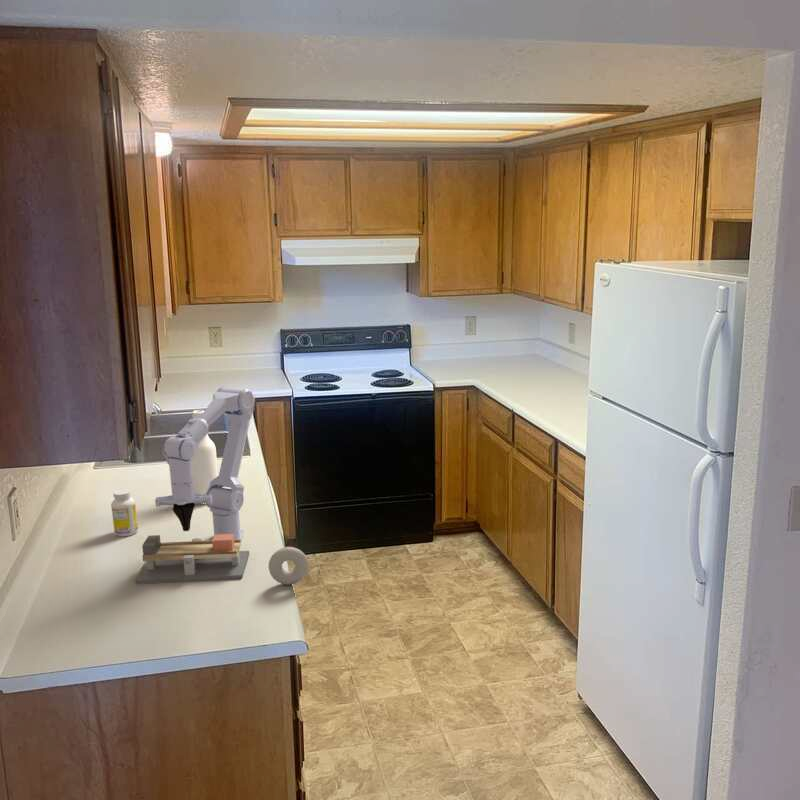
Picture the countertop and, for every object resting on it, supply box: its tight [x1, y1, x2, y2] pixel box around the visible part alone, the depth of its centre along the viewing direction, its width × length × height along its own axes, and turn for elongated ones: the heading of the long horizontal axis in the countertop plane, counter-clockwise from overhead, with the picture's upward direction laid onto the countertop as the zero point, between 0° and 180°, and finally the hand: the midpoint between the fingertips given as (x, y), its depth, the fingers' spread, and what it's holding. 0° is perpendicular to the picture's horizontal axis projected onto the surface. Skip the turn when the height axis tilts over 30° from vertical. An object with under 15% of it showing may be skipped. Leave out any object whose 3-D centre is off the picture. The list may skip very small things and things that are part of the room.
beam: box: [141, 534, 242, 562], centre depth 210 cm, size 8×24×4 cm, turn 93°
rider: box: [211, 534, 234, 551], centre depth 210 cm, size 4×5×3 cm
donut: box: [268, 546, 310, 586], centre depth 200 cm, size 10×4×10 cm, turn 96°
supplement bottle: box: [110, 488, 139, 537], centre depth 235 cm, size 7×7×13 cm
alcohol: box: [191, 409, 219, 495], centre depth 258 cm, size 9×9×30 cm
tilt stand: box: [134, 537, 250, 584], centre depth 211 cm, size 15×27×6 cm, turn 93°
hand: (186, 529), depth 213 cm, fingers closed
